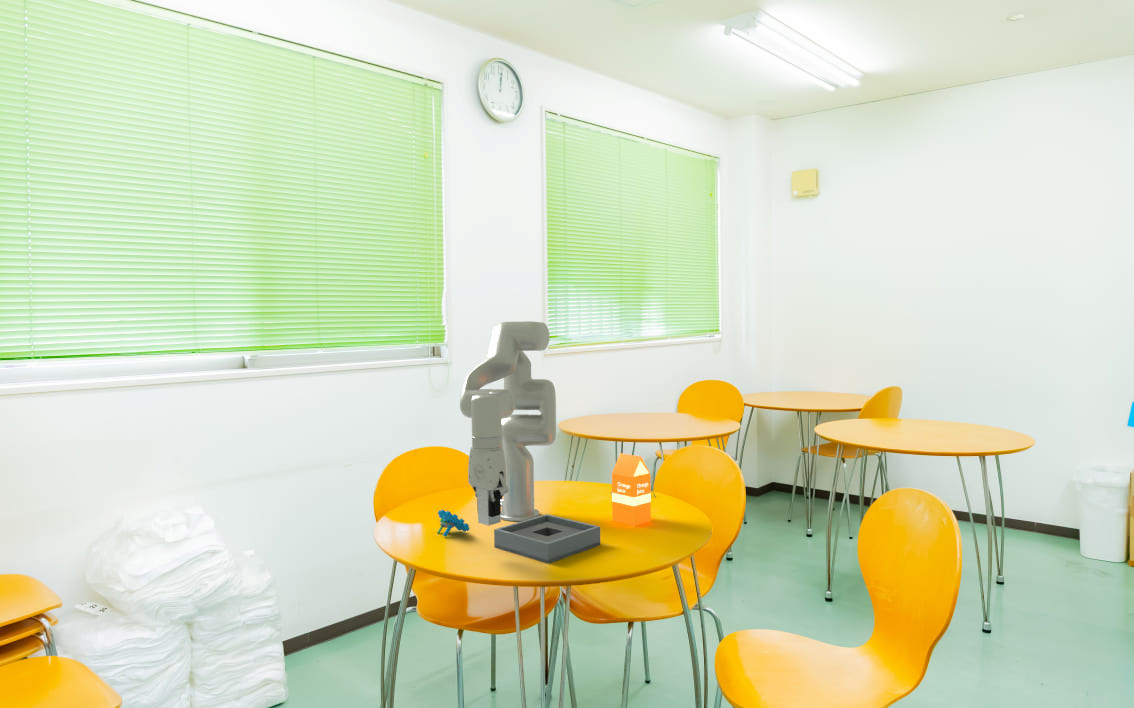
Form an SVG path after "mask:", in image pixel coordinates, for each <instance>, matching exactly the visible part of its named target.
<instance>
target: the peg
mask: <svg viewBox="0 0 1134 708" xmlns="http://www.w3.org/2000/svg"><path fill="white" fill-rule="evenodd" d="M496 493H497V490H496V491H495V494H496ZM477 497H478V511H477V520H478V521H477V522H478V524H482V525H485V526H488V527H490V526H492V525H495V524H499V523H501V520H502V519H501V518H500V515H498V516H495V517H490V503H489V501H491V496H490V490H485V489H481V488H477ZM477 497H476V498H477Z"/></svg>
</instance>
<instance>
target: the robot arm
mask: <svg viewBox="0 0 1134 708" xmlns="http://www.w3.org/2000/svg"><path fill="white" fill-rule="evenodd" d="M550 338H551V337H550V330H549V327H548V326H547V324H546V323H544V322H543V321H542V322H540V321H528V320H527V321H505V322H504V321H503V322H500V323H498V324H497V325H495V326H494V327H493V328H492V331H491V338H490V342H489V347H488V350H487V351H488V352H487V356H486V359H485V360H483V361H482V362H480V364H478V365H476V366H475V367H474V368H473V369H472V370H471V371H470V372H469V373H468V375H467V376H466V378H465V380H464V383H463V386H462V389H461V395H460V400H459V401H460V402H459V408H460V412H461V414H462V415H463V416H464V417H466V418H469V419H471V442H472V443H471V445H472V446H471V447H470V450H469V456H468V465H467V466H468V468H467V469H468V470H467V472H468V473H467V474H468V475H467V477H468V484H469V485H470V486H471V488H472V490H473V491H474V493H475V494H474V495H475V498H476V503H477V504H476V505H477V506H476V507H477V512H478V497H477V488H481V489H485V490H490V496H491V501H489V503H490V517H495V516H498V515H500V518H501V520H504V521H510V522H521V521H525V520H528V519H532V518H535V517H539V516H540V511H539V509H536V508H535V474H534V472H535V471H534V470H535V469H534V468H535V467H534V465H535V463H534V457H533V455H532V454H531V452H530V451H529V449H528V448H527V447H529V446H535V447H536V446H539V447H541V446H543V447H545V446H550V445H552V444H554V442H555V441H556V436H557V399H556V388H555V386H554V383H553V382H552V381H551V380H549V379H545V378H543V379H542V378H540V379H539V378H533V377H532V363H531V361H530V359H529V357H528V355H527V354H525V351H526V352H529V351H530V352H531V351H532V352H533V351H536V352H537V351H538V352H541V351H545V350H546V349H547V347H548V346H549V343H550ZM500 380H503V389H500V388H499V389H495V388H494V389H492V388H486V389H485V388H483V387H484V386H486V385H488V384H492V383H493V382H498V381H500ZM482 388H483V389H482ZM514 411H539V412H540V414H528V413H527V414H521V413H520V414H519V413H518V414H514ZM496 490H497V493H496V494H495V491H496Z"/></svg>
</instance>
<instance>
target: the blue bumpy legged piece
mask: <svg viewBox="0 0 1134 708" xmlns="http://www.w3.org/2000/svg"><path fill="white" fill-rule="evenodd" d="M437 514H438V518H439V519H440V520H439V523H440V524H439V525H440V527H439V528H438V530H437V532H436V533H437V534H439V535H440V533H441V532H442V531H443V529H444V528H445V531H444V533H443V534H442V536H444V537H446V538H447V536H448V535H449V533H450V532H451V530H452V529H453V528H456V530H458V531H463V532H464V533H466V532H468V531H470V529H471V528H470V525H469V524H468V523H466V522H465V520H464V519H463V518H459V515H458V514H455V513H454V514H452V513H451V512H450V511H449V510H446V511H445V510H444V509H441V510H438V512H437Z"/></svg>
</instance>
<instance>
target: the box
mask: <svg viewBox="0 0 1134 708" xmlns="http://www.w3.org/2000/svg"><path fill="white" fill-rule="evenodd" d="M493 532H494V533H493V535H494V536H493V541H494V545H493V546H494V548H495V549H497V550H502V551H505V552H508V553H512V554H515V555H518V556H521V557H525V558H528V559H530V560H531V559H532V560H534V561H538V562H540V563H545V564H548V565H549V564H551V563H554V562H557V561H559V560H563V559H566V558H568V557H570V556H571V557H572V556H574V555H576V554H580V553H582V552H586V551H588V550H591V549H593V548H596V547H599V546H601V526H598V525H595V524H591V523H586V522H583V521H578V520H573V519H570V518H564V517H562V516H561V517H560V516H556V515H551V514H548V513H546V514H542V515H539V516H538V517H535V518H532V519H528V520H525V521H517V522H515V523H511V524H509V525H508V524H507V525H505V526H502V527H501V526H500V527H499V528H495V529H493Z"/></svg>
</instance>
